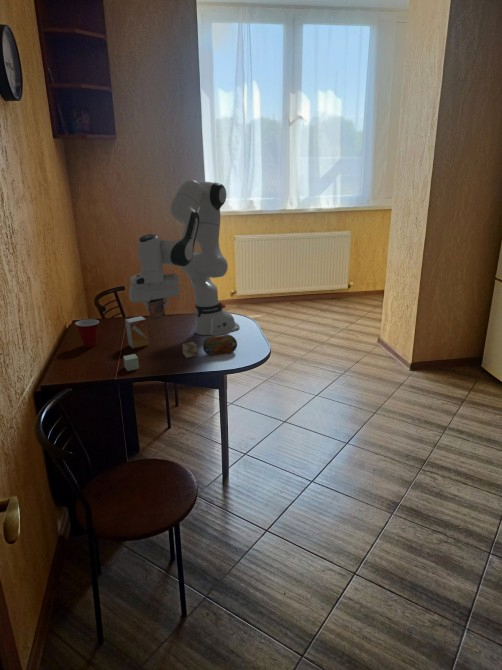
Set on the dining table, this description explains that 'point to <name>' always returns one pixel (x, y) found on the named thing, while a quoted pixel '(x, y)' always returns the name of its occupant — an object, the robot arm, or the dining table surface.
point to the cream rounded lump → (189, 349)
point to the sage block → (131, 362)
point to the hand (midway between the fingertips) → (156, 309)
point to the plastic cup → (88, 331)
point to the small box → (137, 332)
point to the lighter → (156, 309)
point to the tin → (219, 345)
